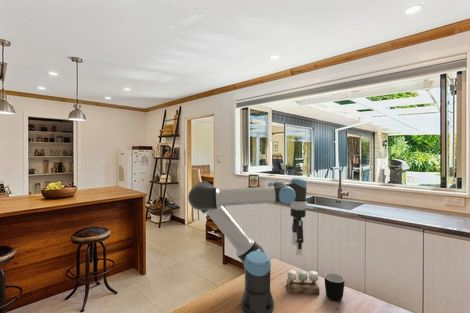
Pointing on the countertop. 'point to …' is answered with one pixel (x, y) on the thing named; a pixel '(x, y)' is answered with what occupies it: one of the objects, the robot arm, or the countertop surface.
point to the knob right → (313, 276)
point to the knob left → (291, 275)
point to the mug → (334, 286)
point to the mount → (302, 287)
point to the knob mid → (302, 276)
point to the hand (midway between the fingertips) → (296, 249)
